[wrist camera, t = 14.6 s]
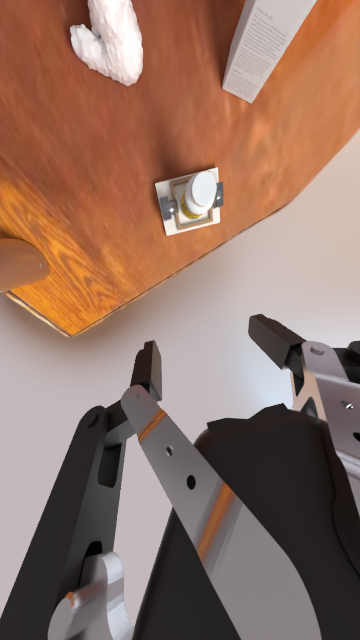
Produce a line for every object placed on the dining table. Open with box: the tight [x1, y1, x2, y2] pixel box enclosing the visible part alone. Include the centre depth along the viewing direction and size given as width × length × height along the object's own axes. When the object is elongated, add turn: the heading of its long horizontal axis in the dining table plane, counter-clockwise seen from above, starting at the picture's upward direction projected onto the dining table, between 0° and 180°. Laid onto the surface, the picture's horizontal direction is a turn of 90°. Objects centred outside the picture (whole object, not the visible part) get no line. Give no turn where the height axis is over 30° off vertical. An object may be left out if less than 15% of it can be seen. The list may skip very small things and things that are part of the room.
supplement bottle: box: [181, 171, 217, 219], centre depth 24 cm, size 5×5×10 cm
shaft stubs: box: [160, 182, 223, 222], centre depth 27 cm, size 13×4×2 cm, turn 102°
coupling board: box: [155, 167, 220, 236], centre depth 28 cm, size 13×9×2 cm
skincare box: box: [222, 0, 317, 103], centre depth 16 cm, size 6×4×12 cm
